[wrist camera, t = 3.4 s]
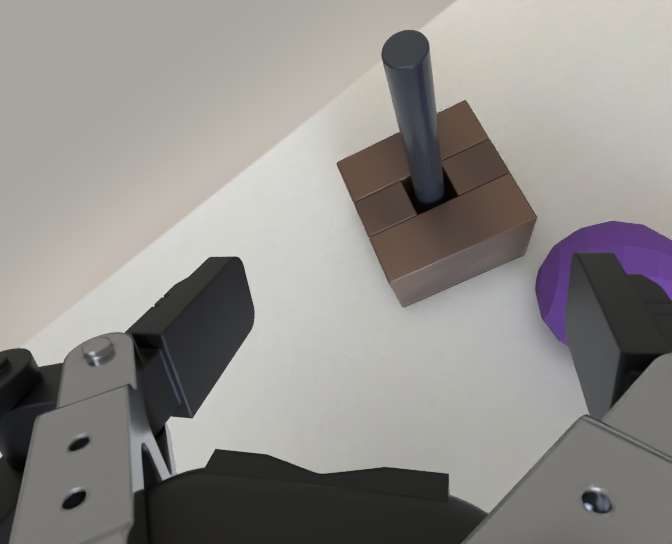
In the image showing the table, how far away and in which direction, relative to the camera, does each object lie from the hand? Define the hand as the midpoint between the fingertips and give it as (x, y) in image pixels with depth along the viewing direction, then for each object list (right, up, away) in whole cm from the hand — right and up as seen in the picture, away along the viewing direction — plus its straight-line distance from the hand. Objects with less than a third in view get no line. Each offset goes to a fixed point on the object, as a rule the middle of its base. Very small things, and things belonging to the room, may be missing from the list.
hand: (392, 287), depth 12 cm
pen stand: (+4, +3, +15) cm, 16 cm away
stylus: (+4, +3, +15) cm, 16 cm away
